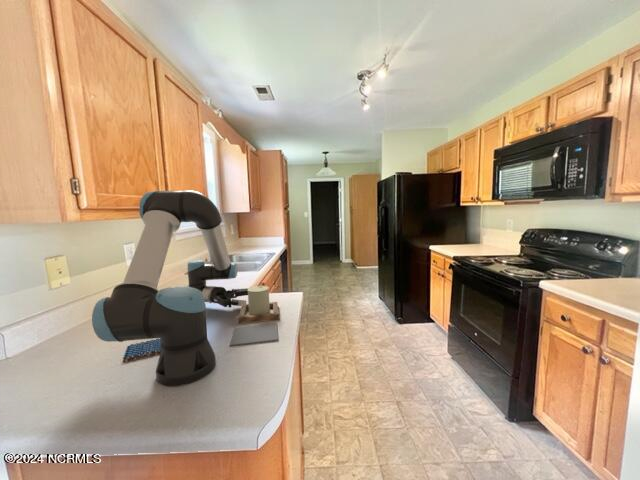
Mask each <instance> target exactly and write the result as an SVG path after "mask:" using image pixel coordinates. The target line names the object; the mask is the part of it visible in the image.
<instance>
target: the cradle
mask: <svg viewBox="0 0 640 480" xmlns="http://www.w3.org/2000/svg"><path fill="white" fill-rule="evenodd" d="M278 304H279V303H278V301H271V302H270V301H269V305H270V309H272V310H273V312H270V313H268V314H258V315H249V314H248V315H246V314H247V311H248V312H249V304H248V303H246V307H244V306H240V311H239V314H238V315H239V316H238V320H237V321H238V324H246V323H247V324H248V323H256V322H266V321H274V320H280V315H279V305H278Z"/></svg>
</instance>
